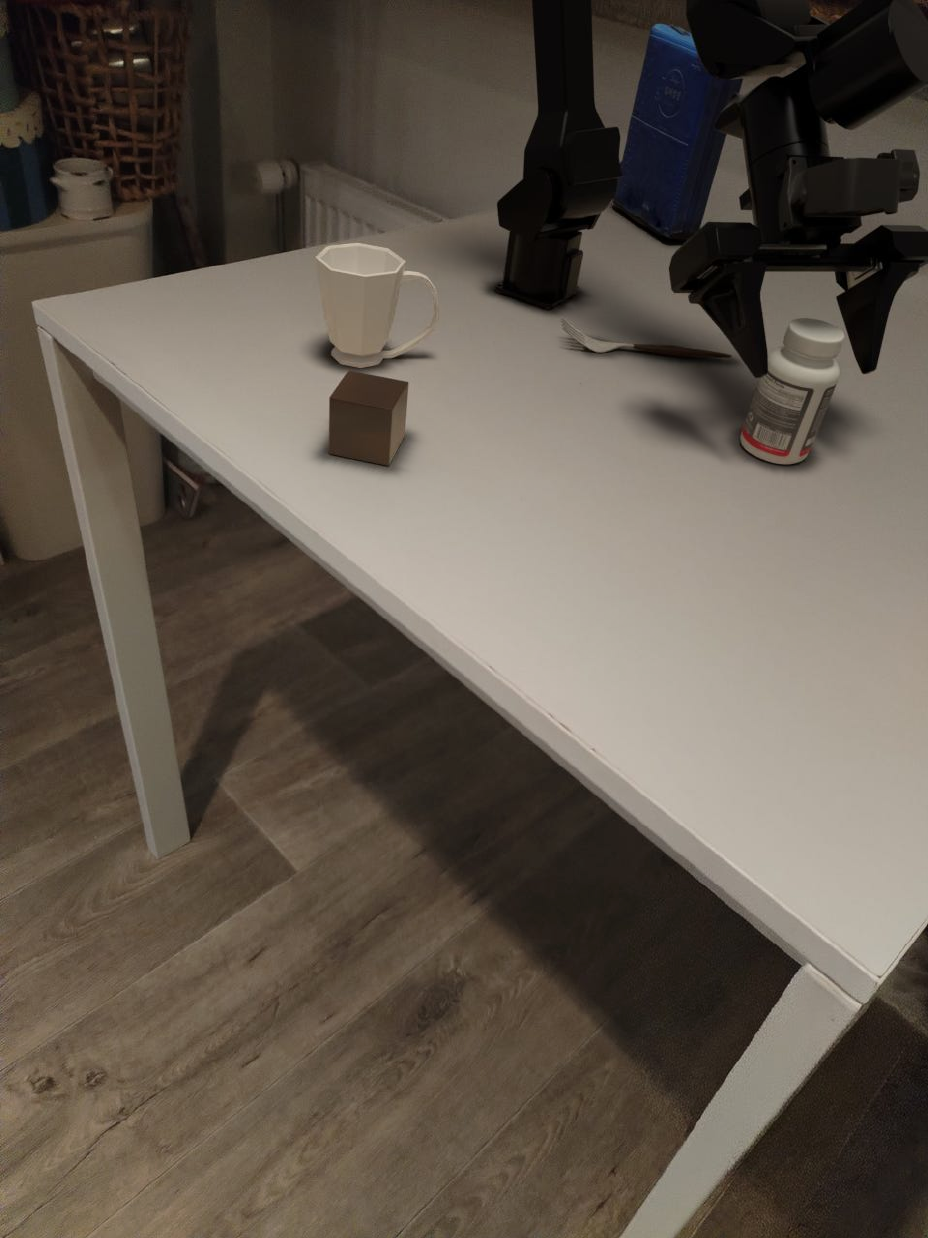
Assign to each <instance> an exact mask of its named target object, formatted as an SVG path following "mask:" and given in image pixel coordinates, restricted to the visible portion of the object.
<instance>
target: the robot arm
mask: <svg viewBox="0 0 928 1238" xmlns="http://www.w3.org/2000/svg"><path fill="white" fill-rule="evenodd" d="M531 5H532V6H531V7H532V9H531V10H532V24H533V26H532V27H533V42H534V43H533V44H534V59H535V60H534V61H535V77H536V78H535V79H536V93H537V94H536V96H537V116H536V119H535V121H534V124H533V125H532V128H531V131H530V134H529V136H528V139H527V141H526V144H525V147H524V150H523V163H522V164H523V167H522V179H520V181H518V182H517V183H516V184H515V185H514V186H513V187H512V188H511V189H509V190H508V191H507V192H506V193H505V194H504V195H503V196H502V197H500V199H499V200H497V201H496V211H497V219H498V226H499V227H500V228H502V229H504V230H506V231H509V232H508V238H507V247H506V253H505V254H506V255H505V262H504V267H503V276H502V280H500V281H498V282H496V283H495V284H494V287H493V290H494V291H495V292H498V293H501V294H504V295H507V296H510V297H513V298H516V299H518V300H522V301H524V302H528V303H531V304H533V305H536V306H539V307H542V308H545V309H553V308H555V307H556V306H558V305H559V304H561V303H563V302H564V301H566V300H567V299H569V298H570V297H572V296H574V295H575V294H577V293H578V292H579V287H580V286H578V283H579V278H580V273H581V267H582V262H583V257H584V251H583V250H582V249H580V247H581V242H582V237H583V232H582V231H585V230H588V231H590V230H593V229H594V228H595V226H596V225H597V223H598V220H599V219H600V216H601V215H602V213H603V212H604V211H605V210H607V208H608V207H609V205H610V204H611V203H612V201H613V199H614V198H615V194H616V190H617V178H621V177H622V176H623V174H622V170H621V167H620V162H621V161H620V148H621V147H620V146H621V132H620V128H619V127H618V126H608V127H606V126H605V124H604V122H603V120H602V118H601V116H600V115H599V113H598V111H597V108H596V102H595V76H594V73H595V72H594V41H593V40H594V39H593V11H592V10H593V9H592V0H531ZM685 17H686V23H687V25H688V29H689V33H691V35H692V38H693V41H694V45H695V48H696V51H697V54H698V57H699V60H700V62H701V64H702V66H703V67H704V69H705V70H706V71H707V73H709V74H710V75H711V76H713V77H717V78H721V79H729V80H730V79H743V80H744V79H754V78H755V79H756V78H766V79H765V80H763V81H762V82H760V83H759V84H758V85H756V86H755V87H753V88H752V89H751V90H750V91H748V92H746V93H744V95H743V94H741V93H739V94H738V93H733V94H732V95H731V97H730V100H729V102H728V104H727V106H726V107H725V108H724V109H723V110H722V111H721V112H720V114H719V116H718V118H717V120H716V121H715V123H714V129H715V130H716V131H719V132H722V133H725V134H727V136H732V137H734V138H737V139H740V140H742V146H743V154H744V163H745V169H746V176H747V184H748V187H747V189H746V190H745V191H744V192H743V193H742V194H740V195H739V196H738V199H739V206H740V207H739V208H740V211H751V213H752V221H753V223H752V222H744V221H743V222H742V221H741V222H739V221H707V222H706V223H705V224H703V225H702V226H700V229H699V230H698V231H697V232H696V233H695V234H694V235H693V236H692V237H691V238H690V239H686V241H685V242H684V243H683V244H682V245H681V246H680V247H678V248H677V249H676V250H675V252H673V254H672V256H671V257H670V262H669V265H668V275H669V282H670V283H669V284H670V289H671V292H673V293H674V294H688V296H687V300H688V302H689V304H691V305H698V306H700V307H701V309H702V310H703V311H704V312H705V313H706V315H707V316H708V317H709V318H710V319H711V320H712V322H713V323H714V324H715V325H716V326H717V327H718V328H719V330H720V331H721V332H722V333H723V335H724V336H725V337H726V339H727V340H728V342H729V343H730V344H731V346H732V347H733V348H734V350H735V352H736V353H737V355H738V356H739V357H740V359H741V360H742V361H743V363H744V364H745V366H746V367H747V369H748V370H749V372H750V373H751V375H752V376H753V377H754V378H755V379H760V378H761V377H763V376H765V375H767V373H768V355H769V353H768V343H767V337H766V329H765V322H764V315H763V307H762V300H761V293H762V292H761V291H762V286H763V283H764V278H765V275H766V272H767V273H768V272H769V273H772V272H773V273H775V272H779V273H785V272H786V273H787V272H790V273H791V272H793V273H794V272H795V273H798V272H799V273H802V272H803V273H804V272H805V273H806V272H808V273H809V272H810V273H811V272H812V273H816V272H821V273H822V272H823V273H825V272H827V273H828V272H829V273H831V272H832V273H833V272H834V276H835V277H834V278H835V282H836V284H837V285H838V287H840V288H841V289H842V290H843V292H841V293H840V294H837V295H836V296H835V299H836V302H837V306H838V309H839V312H840V315H841V318H842V321H843V324H844V327H845V330H846V334H847V338H848V340H849V343H850V347H851V350H852V353H853V356H854V359H855V361H856V363H857V366H858V368H859V370H860V371H861V372H860V373H861V374H862V375H868V374H871V373H874V372H875V371H876V370H877V367H878V362H879V358H880V354H881V350H882V345H883V343H884V342H883V341H884V336H885V333H886V327H887V324H888V319H889V315H890V312H891V309H892V306H893V303H894V301H895V297H896V295H897V293H898V291H899V290H900V288H901V287H902V285H903V284H904V283H905V282H906V281H908V280H909V279H912V278H913V277H914V276H916V275H917V274H918V273H919V271H920V269H922V267H924V266H926V265H928V229H926V228H924V227H923V226H920V225H913V224H912V225H909V224H908V225H907V224H906V225H905V224H880V225H879V226H877V227H876V228H874V229H873V230H871V231H870V232H869V233H867V234H866V235H863V237H861V238H860V239H858V240H856V241H855V242H853V243H852V242H851V243H849V242H846V243H845V242H844V243H843V242H842V237H843V236H844V235H845V234H852V233H853V232H856V231H857V230H858V229H859V228H861V227H862V226H863V222H862V217H867V216H872V215H873V216H874V215H877V214H882V213H884V214H885V215H888V216H889V215H895V214H897V213H898V212H899V211H898V210H899V204H901V203H904V202H911V201H913V200H914V199H915V197H916V195H917V194H918V192H919V186H920V179H921V178H920V177H921V171H920V165H919V162H918V160H917V158H918V157H917V155H916V154H917V153H916V150H915V149H905V148H904V149H903V148H895V149H894V148H893V149H891V151H890V152H880V153H878V154H877V156H876V157H847V158H845V157H844V156H831V153H830V152H831V151H830V143H829V138H828V129H827V124H830V125H836V124H837V125H838V126H840V128H843V129H844V130H848V131H854V130H856V129H858V128H860V127H861V126H863V125H864V124H866V123H868V122H869V121H871V120H873V119H875V118H877V117H878V116H880V115H882V114H883V113H885V112H886V111H888V110H890V109H891V108H893V107H895V106H897V105H898V104H900V103H901V102H904V101H905V100H906V99H908V98H910V97H911V96H913V95H915V94H917V93H919V92H920V91H922V90H923V89H925V88H927V87H928V19H927V17H926V16H925V14H924V12H923V11H922V9H921V7H920V6H918V5H917V3H916V2H914V0H862V1H861V2H860V3H858V4H857V5H856V6H855V7H853V8H852V9H850V10H849V11H847V12H846V13H845V14H843V15H842V16H841V17H839V18H838V19H836V20H835V21H833V22H832V23H829V22H827V21H825V20H824V19H822V18H820V17H818V16H817V15H815V14H813V13H811V9H810V5H809V2H808V0H685ZM792 65H801V66H800V67H798V68H796V69H795V70H794V71H792V72H790V73H788V74H786V75H784V76H782V77H781V76H778V75H780V74H782V73H783V72H785V71H786V70H787V69H788V68H790V67H791V66H792ZM767 77H768V78H767Z"/></svg>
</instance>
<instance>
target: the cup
mask: <svg viewBox="0 0 928 1238" xmlns="http://www.w3.org/2000/svg"><path fill="white" fill-rule="evenodd" d="M406 262H407V260H405V259H404V258H402V257H401V256H399V255H398V254H397V253H395V252H394V251H393V250H391V249H390V248H388V247H383V246H377V245H372V244H368V243H367V244H366V243H360V242H350V243H341V244H332V245H326V246H325V247H324V248H323V249H322V250H321V251H320V252H319V253H318V254H317V255H316V256H315V265H316V272H317V279H318V284H319V289H320V290H319V291H320V298H321V305H322V313H323V319H324V322H325V327H326V330H327V334H328V338H329V342H330V343H331V344H332V345H333V346H334V347H333V348H332V349H331V353H330V355H331V357H333V359H335V360H336V361H337V362H338V363H339V364H340V365H343V366H348V367H352V368H353V367H354V368H359V369H362V368H369V367H374V366H379V365H380V364H381V362H382V361H383V359H393V358H396V357H398V356H400V355H403V354H405V353H407V352H408V351H410V350H412V349H413V348H415V347H416V346H418V345H419V344H421V343H422V342H425V340H427V339H428V337H430V335H431V334H432V333H434V331H435V330H436V327H437V324H438V321H439V319H440V303H439V296H438V293H437V288H436V287H435V285H434V284H433V282H432V281H431V280H430V278H429V276H427V275H425V274H423V273H422V272H419V271H413V270H412V271H411V270H405V267H406ZM416 281H421V282H423V283H425V284H426V286H427V287H428V289H429V290H430V291H431V293H432V299H433V304H434V305H433V310H434V311H433V312H434V314H433V316H432V319H431V321H430V324H429V325H428V326H427V327H426V328H425V329H424V330H423V331H422V332H420V333H419V334H418V335H416V336H415V337H413V338H412V339H411V340H410V339H409V341H407V342H406V343H403V344H402V345H401V346H398V347H396V348H393V349H391V350H383V348H384V347H385V345H386V344H387V341H388V338H389V335H390V332H391V329H392V326H393V323H394V320H395V316H396V310H397V305H398V302H399V301H398V300H399V295H400V290H401V287H402V284H404V283H408V282H416Z"/></svg>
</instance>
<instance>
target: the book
mask: <svg viewBox="0 0 928 1238" xmlns="http://www.w3.org/2000/svg"><path fill="white" fill-rule="evenodd" d="M743 82H744V78H743V79H730V80H729V79H721V78H717V77H713V76H711V75H710V74H709V73H707V71H706V70H705V69H704V67H703V66H702V64H701V62H700V60H699V57H698V54H697V51H696V48H695V45H694V41H693V38H692V35H691V32H690V31H687V30H685V29H683V27H680V26H678V25H676V24H664V23H663V24H662V23H657V24H654V25H653V26H652V27H651V29H650V32H649V35H648V39H647V43H646V50H645V55H644V59H643V62H642V67H641V72H640V76H639V80H638V84H637V90H636V94H635V97H634V102H633V108H632V113H631V116H630V119H629V125H628V130H627V136H626V140H625V144H624V145H625V146H624V150H623V154H622V159H621V161H620V167H621V170H622V174H623V176H622V177H621V178H617V190H616V194H615V198H614V199H613V200H611V203H613V206H615V207H617V208H618V209H619V210H621V211H622V212H623V213H625V214H626V215H627V216H628V217H630V218H631V219H633V220H634V221H635V222H636V223H638V224H640V225H641V226H643V227H645V228H647V229H649V230H650V231H652V232H653V233H655V234H657V235H659V236H661V237H665V238H667V239H670V240H688V239H690V238H691V237H692V236H693V235H694V234H695V233H696V232H697V231H698V230H699V229H700V228H701V225H702V222H703V219H704V215H705V212H706V208H707V204H708V200H709V197H710V194H711V191H712V186H713V183H714V180H715V176H716V173H717V169H718V166H719V163H720V159H721V155H722V151H723V150H724V149H723V148H724V146H725V141H726V138H727V136H728V134H725V133H722V132H719V131H716V130H715V129H714V123H715V121H716V120H717V118H718V116H719V114H720V112H721V111H722V110H723V109H724V108H725V107H726V106H727V104H728V102H729V100H730V97H731V95H732V94H733V93H738V94H740V92H741V89H742V86H743Z"/></svg>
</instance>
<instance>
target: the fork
mask: <svg viewBox="0 0 928 1238" xmlns="http://www.w3.org/2000/svg"><path fill="white" fill-rule="evenodd" d="M560 319H561V321H560V322H561V323H562V324H561V326H562V330H563V331H564V332H566V333H567V334H568V335H569V336H570V337H571V338H572V339H573V340H575V341H576V342H577V343H579V344H580V345H581V346H583V347H585V348H586V349H588V350H590V351H592V352H594V353H598V354H603V353H608V352H611V351H614V350H616V349H620V348H627V349H633V350H639V351H643V352H650V353H656V354H661V355H668V356H678V357H679V356H680V357H683V356H684V357H700V358H701V357H702V358H714V359H730V358H732V355H731V354H728V353H723V352H719V351H713V350H705V349H698V348H692V347H687V346H686V347H685V346H680V345H670V344H652V343H650V344H648V343H625V342H624V343H623V342H621V343H620V342H611V341H610V342H609V341H604V340H598V339H595V338H592V337H590V336H588V335H586V334H584V333H583V332H581V331H580V330H578V329H577V328H576V327H575V326H573V324H571V323H569V321H567V320H566V319H565V318H564V317H563V316H560Z"/></svg>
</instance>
